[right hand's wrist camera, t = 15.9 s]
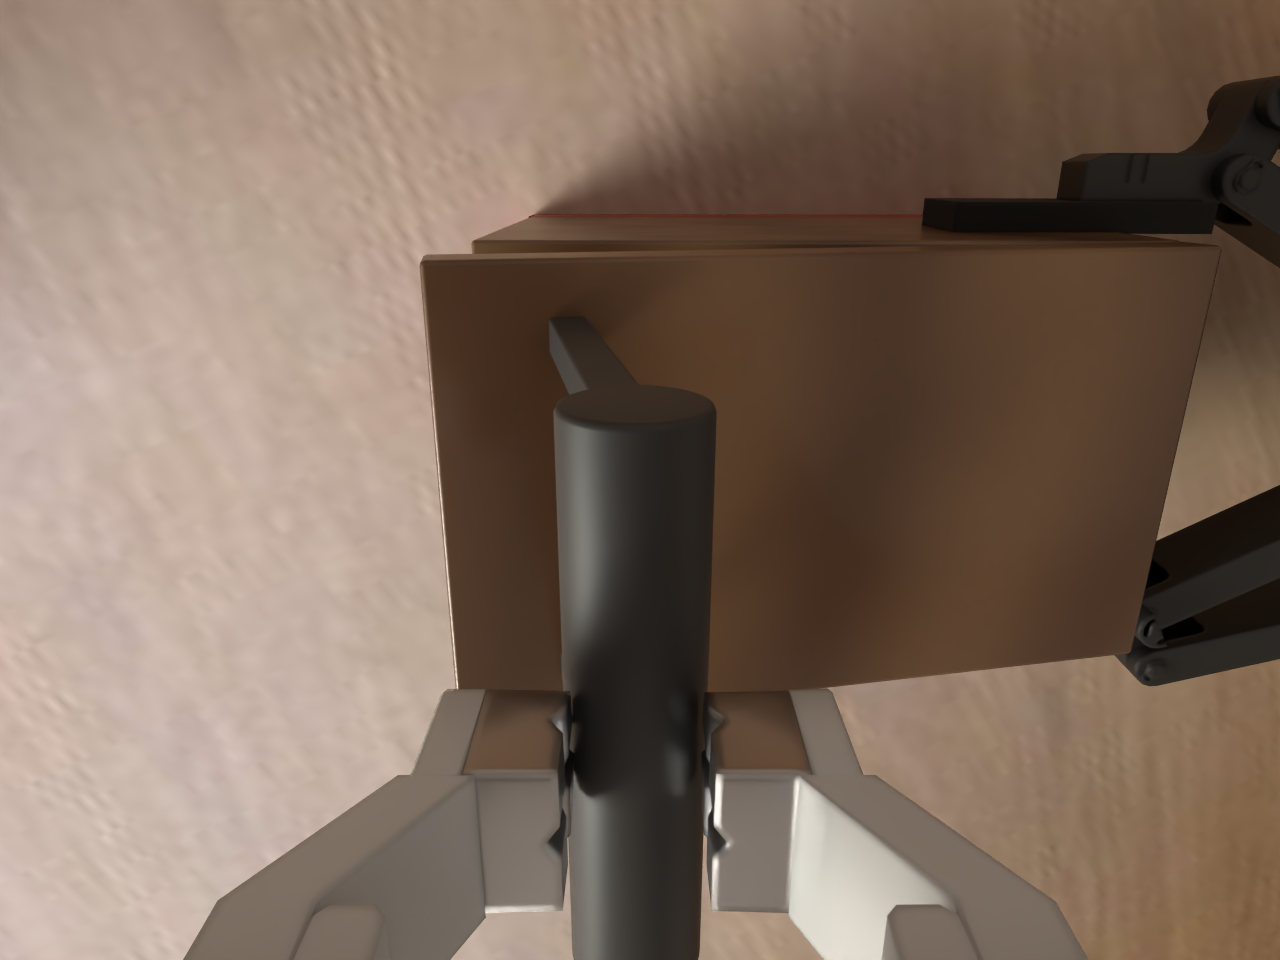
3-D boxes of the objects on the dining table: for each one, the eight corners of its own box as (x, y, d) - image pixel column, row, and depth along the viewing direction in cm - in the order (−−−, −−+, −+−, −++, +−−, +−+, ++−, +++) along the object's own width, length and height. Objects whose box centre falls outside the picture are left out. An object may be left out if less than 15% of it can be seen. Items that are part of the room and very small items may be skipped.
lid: (459, 698, 19) (455, 1089, 11) (421, 254, 16) (376, 345, 8) (1098, 630, 22) (1470, 900, 14) (1180, 241, 19) (1729, 298, 11)
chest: (544, 481, 33) (495, 625, 23) (533, 214, 30) (470, 239, 19) (960, 483, 33) (1103, 629, 22) (996, 214, 29) (1184, 240, 19)
